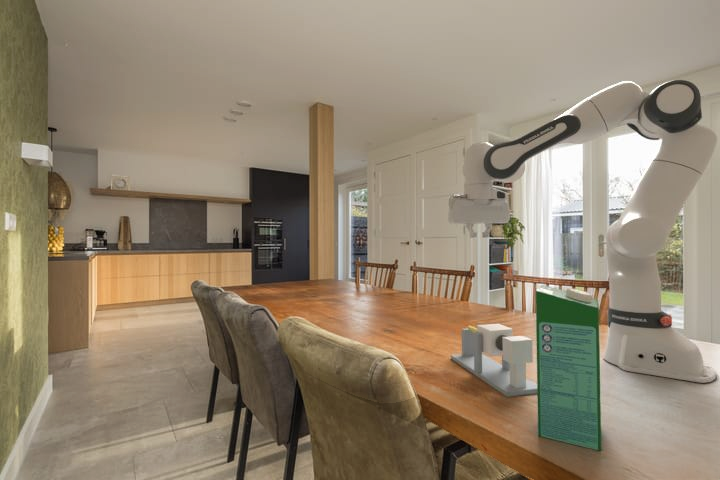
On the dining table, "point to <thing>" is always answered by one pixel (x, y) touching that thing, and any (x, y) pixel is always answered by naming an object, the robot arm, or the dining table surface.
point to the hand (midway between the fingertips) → (479, 237)
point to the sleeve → (492, 337)
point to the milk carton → (568, 366)
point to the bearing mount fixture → (499, 376)
